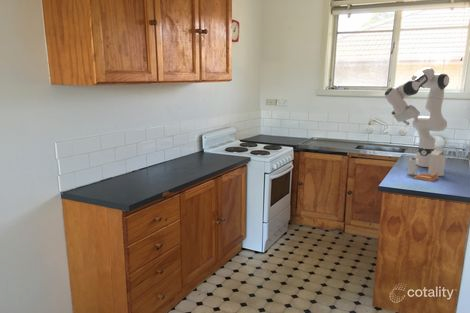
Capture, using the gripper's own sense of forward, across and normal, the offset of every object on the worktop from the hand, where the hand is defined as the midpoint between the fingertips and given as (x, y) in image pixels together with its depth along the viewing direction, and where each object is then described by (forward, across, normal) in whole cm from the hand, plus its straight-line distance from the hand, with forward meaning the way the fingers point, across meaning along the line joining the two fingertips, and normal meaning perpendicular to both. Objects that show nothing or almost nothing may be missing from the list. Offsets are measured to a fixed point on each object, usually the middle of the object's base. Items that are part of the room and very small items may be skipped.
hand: (413, 123), depth 273 cm
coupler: (+32, -6, +24) cm, 40 cm away
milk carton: (+39, 0, +11) cm, 40 cm away
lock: (+28, +6, +22) cm, 36 cm away
